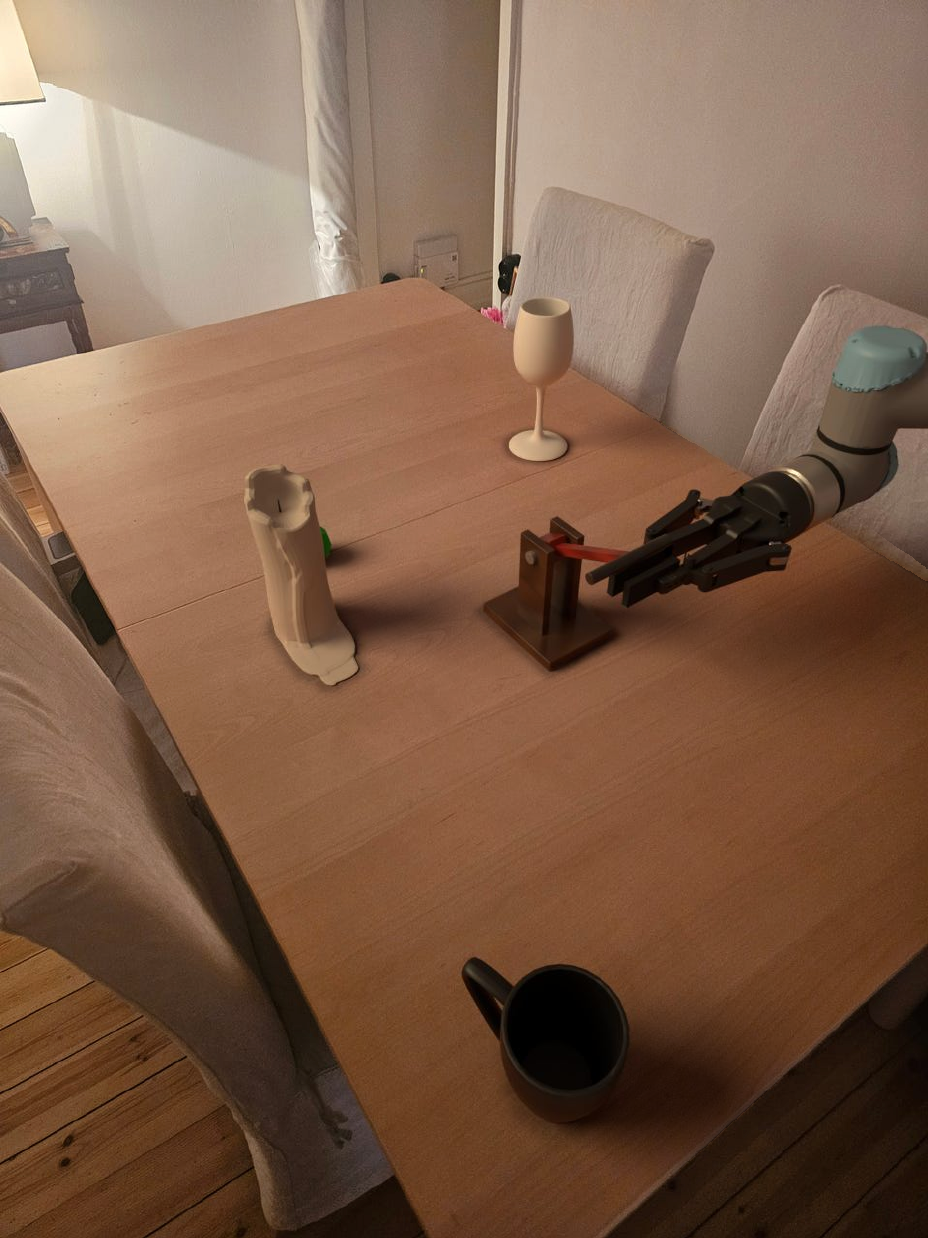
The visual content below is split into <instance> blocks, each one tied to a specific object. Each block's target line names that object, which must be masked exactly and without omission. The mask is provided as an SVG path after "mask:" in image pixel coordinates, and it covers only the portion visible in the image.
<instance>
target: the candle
mask: <svg viewBox="0 0 928 1238" xmlns="http://www.w3.org/2000/svg"><path fill="white" fill-rule="evenodd" d="M243 503H244V506H245V510H246V514H247V517H248V520H249V521H248V522H249V525H250V528H251V531H252V534H253V537H254V540H255V543H256V546H257V549H258V553H259V556H260V561H261V565H262V569H263V574H264V581H265V589H266V596H267V602H268V603H267V604H268V608H269V612H270V617H271V621H272V625H273V629H274V634H275V636H276V638H277V639H278V640H279V641H280V642H281V644H282V646H283V648H284V649H285V650H286V652H287V654H288V655H289V657H290V659H291V660H292V661H293V662H294V663H295V665H297V666H298V668H299V669H301V671H303V673H306V674H308V675H311V676H318V677H319V679H320V680H321V682H322V683H324V684H325V685H328V686H336V684H337V683H339V682H342V681H344V680H346V679H348V678H350V677H352V676H353V675H354V674H355V673H357V672H358V670H359V666H358V663H357V661H356V659H355V653H356V644H355V642H354V638H353V636H352V634H351V633H350V631H349V630H348V629H347V627H346V626H345V625H344V623H343V622H342V620H341V619H340V617H339V616H338V612H337V610H336V606H335V604H334V599H333V595H332V593H331V590H330V584H329V579H328V573H327V565H326V558H325V556H324V547H323V539H322V534H321V530H320V526H321V525H320V522H319V518H318V514H317V508H316V507H317V506H316V497H315V494H314V491H313V489H312V485H311V482H310V479H309V478H308V477H307V476H305V475H304V474H300V473H297V472H293V471H289V469H287V467H286V466H285V465H284V464H281V463H280V464H273V465H267V466H263V467H259V468H255V469H252V470H250V471H249V472H248V473H247V474H246V475H245V480H244V497H243Z"/></svg>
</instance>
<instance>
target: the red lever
mask: <svg viewBox="0 0 928 1238" xmlns="http://www.w3.org/2000/svg"><path fill="white" fill-rule="evenodd" d="M538 537H539V538H540V539H541V540H543V541H544V542H545V543H547V544H548V545H549V546H551V547H552V548H553V549H555V557H554V563H556V562H558V561H560V560H562V559H564V558H566V557H572V558H579V559H582V560H587V561H591V562H597V563H598V562H599V563H604V564H602V565H600V566H598V567H596V568H594V569H592V570H590V571H588V572H587V573H585V576H584V578H585V581H586V583H587V584H588V585H590V586H594V585H595V584H598V583H600V582H602V581H604V580H605V579H607V578H609V576H611V575H613V574H615V573H617V572H619V571H621V570H623V569H625V568H627V567H629V566H631V565H633V564H635V563H637V562H639V561H641V560H643V559H645V558H647V557H648V556H650V555H652V554H654V553H656V552H658V551H660V550H662V549H664V548H666V547H668V546H670V545H671V544H672V538H671V537H670V535H668V534H664V535H662V536H660V537H658V538H656V539H654V540H652V541H650V542H648V543H646V544H644V545H643V544H641V545H640V546H638V547H635V548H634V549H632V550H630V551H628V550H621V549H615V548H614V549H613V548H605V547H599V546H590V545H585V544H584V545H576V544H568V543H567V541H566V537H565V535H564V534H555V533H550V532H547V533H546V534H543V535H541V536H538Z"/></svg>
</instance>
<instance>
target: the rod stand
mask: <svg viewBox="0 0 928 1238" xmlns="http://www.w3.org/2000/svg"><path fill="white" fill-rule="evenodd" d="M549 533H555V534H564V535H565V537H566V541H567V543H568V544H576V545H584V546H585V535H584V534H583V533H582V532H580V531H579V530H578V529H576V528H574V526H572V525H571V524H569V523H568V522H567V521H565V520H564V519H562V518H561V517H559V515H558V516H554V517H552V518H550V520H549ZM539 537H540V536H538V535H537V534H535V533H534V532H532V531H531V530H530V529H528V528H527V529H525V530H523V531H521V532H520V542H519V543H520V544H519V566H518V585H517V586H516V587H513V588H512V589H510V590H508V591H506V592H504V593H502V594H499V595H498V596H496V597H494V598H491V599H490V600H488V601H485V602H483V606H482V611H483V613H484V614H485V615H487V616H488V617H489V618H490V619H491V620H492V621H493V622H494V623H495V624H496V625H498V627H500V628H501V629H502V630H503V631H504V632H505V633H507V635H508V636H509V637H511V638H512V639H513V640H514V641H515V642H516V643H517V644H518V645H519V646H521V647H522V648H523V649H524V650H525V651H526V652H527V653H528V654H529V655H531V656H532V657H533V659H535V660H536V661H537V662H538V663H539V664H540V665H541V666H543V668H545V669H546V670H547V671H548V672H551V671H553V670H555V669H557V668H559V667H560V666H562V665H564V664H566V663H568V662H569V661H572V660H573V659H574V658H576V657H578V656H581V655H582V654H583V653H586V652H587V651H589V650H591V649H593V648H594V647H596V646H598V645H600V644H602V643H603V642H605V641H607V640H609V639H611V638H612V632H613V629H612V627H610V626H609V625H608V624H606V622H604V621H603V620H602V619H600V618H599V617H598V616H596V615H595V614H594V613H593V612H591V611H590V610H589V609H588V608H587V607H585V606H584V605H583V604H581V603H580V602H579V601H578V600H579V593H580V583H581V573H582V563H583V559H579V558H572V557H566V558H564V559H562V560H560V561H558V562H556V563H554V557H555V549H553V548H552V547H551V546H549V545H548V544H547V543H545V542H544V541H543V540H541V539H540V538H539Z"/></svg>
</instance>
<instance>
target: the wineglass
mask: <svg viewBox="0 0 928 1238" xmlns="http://www.w3.org/2000/svg"><path fill="white" fill-rule="evenodd" d="M573 321H574V320H573V313H572V307H571V305H570V304H569V302H567V301H565V300H563V299H560V298H557V297H549V296H539V297H533V298H529V299H527V300H525V301H523V302H522V303H521V305H520V306H519V310H518V314H517V318H516V322H515V327H514V334H513V346H512V347H513V361H514V365H515V369H516V370H517V372H518V374H519V375H520V376H521V377H522V378H523V379H524V380H525V381H526V382H528V383H529V384H530V385H532V386H534V387H535V389H536V417H535V423H534V424H535V425H534V429H530V430H524V431H521V432H519V433H517V434H515V435H514V436H512V438H511V439H510V440H509V442H508V448H509V450H510V452H511V453H512V454H513V455H514V456H516V457H519V458H520V459H523V460H526V461H531V462H547V461H552V460H555V459H558V458H560V457H561V456H563V455H564V454H565V453H566V451H568V443H567V441H566V440H565V438H564V437H563V436H561V435H560V434H558V433H555V432H553V431H550V430H546V429H545V430H544V406H545V405H544V402H545V396H546V390H547V388H548V387H549V386H551V385H553V384H555V383H557V382H558V381H560V380H561V379H562V378H563V377H564V376H565V375H566V373H567V372H568V371H569V368H570V366H571V364H572V360H573V353H574V345H575V343H574V342H575V334H574V333H575V331H574V322H573Z"/></svg>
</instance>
